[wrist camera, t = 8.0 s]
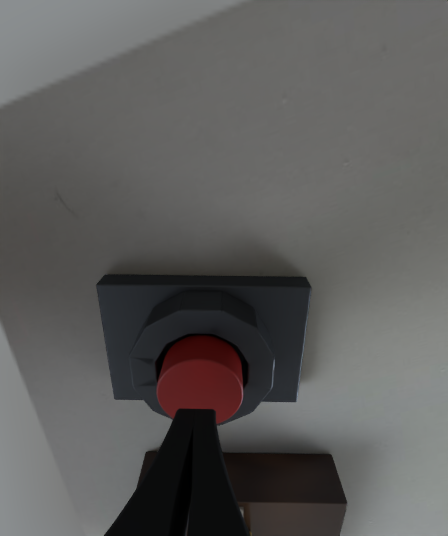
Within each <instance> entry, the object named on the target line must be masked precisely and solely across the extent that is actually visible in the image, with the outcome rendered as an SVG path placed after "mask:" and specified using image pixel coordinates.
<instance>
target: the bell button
mask: <svg viewBox="0 0 448 536" xmlns="http://www.w3.org/2000/svg"><path fill="white" fill-rule="evenodd" d="M156 390H157V398H158V401H159V404H160V405H161V407H162V408H163V410H164V411H165V412H166V413H167V414H168V415H169V416H170V417H172V418H173V419H174V416H175V413H176V411H177V410H178V409H179V408H183V409H214V410H215V411H216V423H217V424H218V423H221V422H223V421H225V420H227V419H229V418H230V417H231V416H233V415H234V414H235V413H236V411H237V410H238V409H239V407H240V405H241V403H242V400H243V380H242V364H241V360H240V357H239V355H238V353H237V352H236V351H235V349H234V348H233V347H232V346H231V345H230V344H228V343H227V342H225V341H224V340H222V339H220V338H217V337H214V336H209V335H194V336H189V337H186V338H184V339H181V340H180V341H178V342H176V343H175V344H174V345H173V346H172V347H171V348H170V349H169V350H168V352H167V354H166V356H165V358H164V362H163V365H162V369H161V373H160V376H159V380H158V383H157V389H156Z"/></svg>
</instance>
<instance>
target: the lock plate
mask: <svg viewBox="0 0 448 536" xmlns="http://www.w3.org/2000/svg"><path fill="white" fill-rule="evenodd" d="M156 454H157V452H146V453H145V457H144V461H143V465H142V469H141V473H140V477H139V480H138V484H137V487H138V485H139V484H140V482H141V480H142V479H143V477H144V475H145V474H146V472H147V470H148V469H149V467H150V465H151V464H152V462H153V460H154V458H155V456H156ZM222 454H223V458H224V462H225V465H226V469H227V472H228V476H229V479H230V482H231V485H232V488H233V491H234V494H235V497H236V500H237V502H238V505H239V508H240V510H241V513H242V515H243V518H244V520H245V523H246V525H247V528H248V530H249V531H250V532H251V534H252V536H340V532H341V528H342V524H343V520H344V516H345V512H346V508H347V504H348V503H347V500H346V497H345V494H344V491H343V488H342V485H341V482H340V479H339V476H338V473H337V470H336V467H335V464H334V461H333V458H332V455H325V454H258V453H222ZM136 489H137V488H136ZM187 529H188V527H187ZM186 536H187V533H186Z"/></svg>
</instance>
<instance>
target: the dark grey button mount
mask: <svg viewBox="0 0 448 536" xmlns="http://www.w3.org/2000/svg"><path fill="white" fill-rule="evenodd" d="M96 286H97V293H98V299H99V305H100V312H101V318H102V324H103V331H104V337H105V343H106V350H107V356H108V362H109V369H110V375H111V381H112V387H113V394H114V399H116V400H144V401H145V402H146V403H147V404H148V406H149V407H150V408H151V409H152V410H153V411H155V412H157V413H159V414H161V415H164V416H166V417H168V418H170V419H173V418H172V417H170V416H169V415H168V414H167V413H166V412H165V411H164V410H163V408H162V407H161V405H160V404H159V401H158V398H157V390H156V389H157V383H158V380H159V376H160V373H161V369H162V365H163V362H164V358H165V356H166V354H167V352H168V350H169V349H170V348H171V347H172V346H173V345H174V344H175V343H176V342H178V341H180V340H181V339H184V338H186V337H189V336H194V335H209V336H214V337H217V338H220V339H222V340H224V341H225V342H227V343H228V344H230V345H231V346H232V347H233V348H234V349H235V351H236V352H237V353H238V355H239V357H240V360H241V364H242V380H243V400H242V403H241V405H240V407H239V409H238V410H237V411H236V413H235V414H234V415H233V416H231V417H230V418H229V419H227V420H225V421H223V422H221V423H218V424H217V425H223V424H225V423H228V422H230V421H233V420H235V419H237V418H240V417H242V416H245V415H247V414H250V413H251V412H253V411H254V410H255V408H256V407H257V406H258V405H259V404H260V403H261V402H297V397H298V390H299V382H300V374H301V366H302V358H303V351H304V343H305V335H306V327H307V319H308V312H309V304H310V296H311V286H310V284H309V282H308V280H307V278H306V277H258V276H180V275H104V276H103V277H102V278H101V280H100V281H99V282H98V283H97V285H96Z"/></svg>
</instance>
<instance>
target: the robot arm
mask: <svg viewBox="0 0 448 536" xmlns="http://www.w3.org/2000/svg"><path fill="white" fill-rule="evenodd" d="M187 527H188V529H187ZM186 533H187V536H251V535H250V533H249V530H248V528H247V525H246V523H245V520H244V518H243V515H242V513H241V510H240V508H239V505H238V502H237V500H236V497H235V494H234V491H233V488H232V485H231V482H230V479H229V476H228V472H227V469H226V465H225V462H224V458H223V454H222V451H221V446H220V442H219V437H218V431H217V423H216V411H215V410H214V409H183V408H179V409H178V410H177V411H176V413H175V416H174V419H173V421H172V424H171V426H170V428H169V431H168V433H167V435H166V437H165V439H164V441H163V443H162V445H161V447H160V449H159V451H158V452H157V454H156V456H155V458H154V460H153V462H152V464H151V465H150V467H149V469H148V470H147V472H146V474H145V475H144V477H143V479H142V480H141V482H140V484H139V485H138V487H137V489H136V490H135V492H134V493H133V495H132V497H131V498H130V500H129V501H128V503H127V504H126V506H125V507H124V509H123V510H122V511H121V513H120V514H119V516H118V517H117V519H116V520H115V521H114V523H113V524H112V526H111V527H110V528H109V530H108V531H107V532H106V534H105V535H104V536H186Z"/></svg>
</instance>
